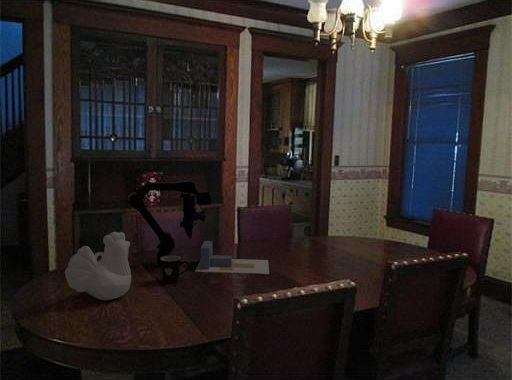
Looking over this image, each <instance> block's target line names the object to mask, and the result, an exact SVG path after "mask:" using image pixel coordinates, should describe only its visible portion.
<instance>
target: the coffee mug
mask: <svg viewBox="0 0 512 380" xmlns="http://www.w3.org/2000/svg"><path fill="white" fill-rule="evenodd" d="M160 260H161V267H160V268H161V276H162V283H164V284H171V285H172V284H176V283H178V282H179V277H180V276H181V275H183V274H184V273H186V272H187V271H189V269H190V263H189V262H187V261H182V262H181V260H182V257H181V256H179V255H170V256H164V257H161V258H160ZM183 264H186V265H187V269H185V270H183V271H182V272H180V268H181V266H182V265H183Z"/></svg>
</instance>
